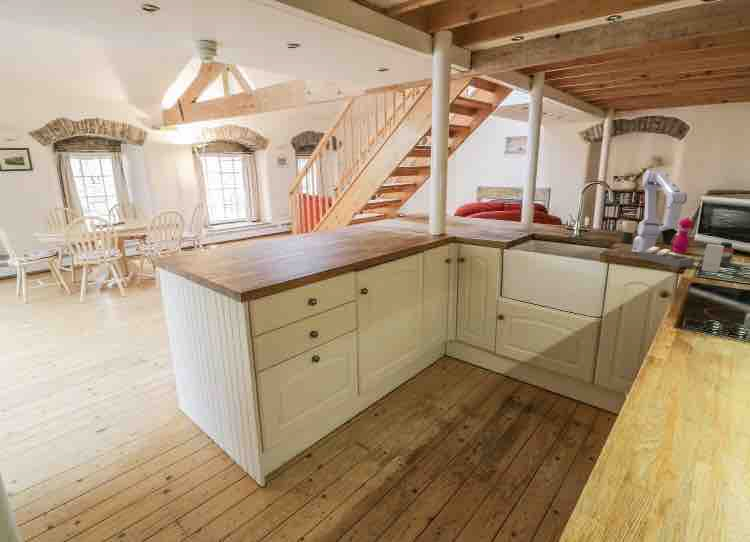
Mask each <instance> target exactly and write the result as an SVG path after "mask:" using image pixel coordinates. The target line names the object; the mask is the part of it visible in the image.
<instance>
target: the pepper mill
mask: <svg viewBox="0 0 750 542" xmlns="http://www.w3.org/2000/svg"><path fill="white" fill-rule="evenodd" d="M678 225H681V229H678V236H677V237H676V238H675V239H674V240H673V243H672V245H673V247H674V248H673V249H672V252H673V251H674V253H675V252H678V253H677V254H683V253H684V254H687V251H688V250H687V249H688V248H689V247H690V240H689V236H688V235H689V232H691V228H692V227H693V225H694V224H693V220H691V219H690V216H688V215H687V216H685V217H684V219H681V220H679V222H678Z"/></svg>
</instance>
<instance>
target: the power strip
mask: <svg viewBox="0 0 750 542" xmlns="http://www.w3.org/2000/svg"><path fill="white" fill-rule="evenodd" d="M659 251H660V250H657V251H655V252H653V253H648V252H646V251H638V253H637V257H640V258H643V259H646V260H645V261H647V260H650V261H649V262H652V261H653V262H652V263H655V264H656V263H657V264H662V265H665V266H671V267H673V268H677V269H679V268H684V267H685V268H686V267H693V266H694V264H695V261H696V259H695V257H691V256H690V257H689V256H685V255H682V257H678V256H674V255H671V254H669V253H667V254H665V255H658V254H657V252H659ZM637 257H636V258H637ZM643 259H642V260H643Z"/></svg>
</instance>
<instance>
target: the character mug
mask: <svg viewBox="0 0 750 542" xmlns="http://www.w3.org/2000/svg"><path fill="white" fill-rule="evenodd" d="M638 227H639V224H637V221H633V220H623V221H622V223H620V224H619V226H618V229H619V230H621V231H622V234H621V237H620V241H619V242H622V243H628V244H630V243H632V242H633V235H634V234H633V233H635V231H638Z"/></svg>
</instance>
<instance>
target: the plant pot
mask: <svg viewBox="0 0 750 542" xmlns="http://www.w3.org/2000/svg"><path fill="white" fill-rule="evenodd" d="M662 225H664V223H661V226H662ZM656 243H657V244H659V245H660V244H663V235H662V234H661V235H660V236H659V237H658V238H656V242H655V244H656Z"/></svg>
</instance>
